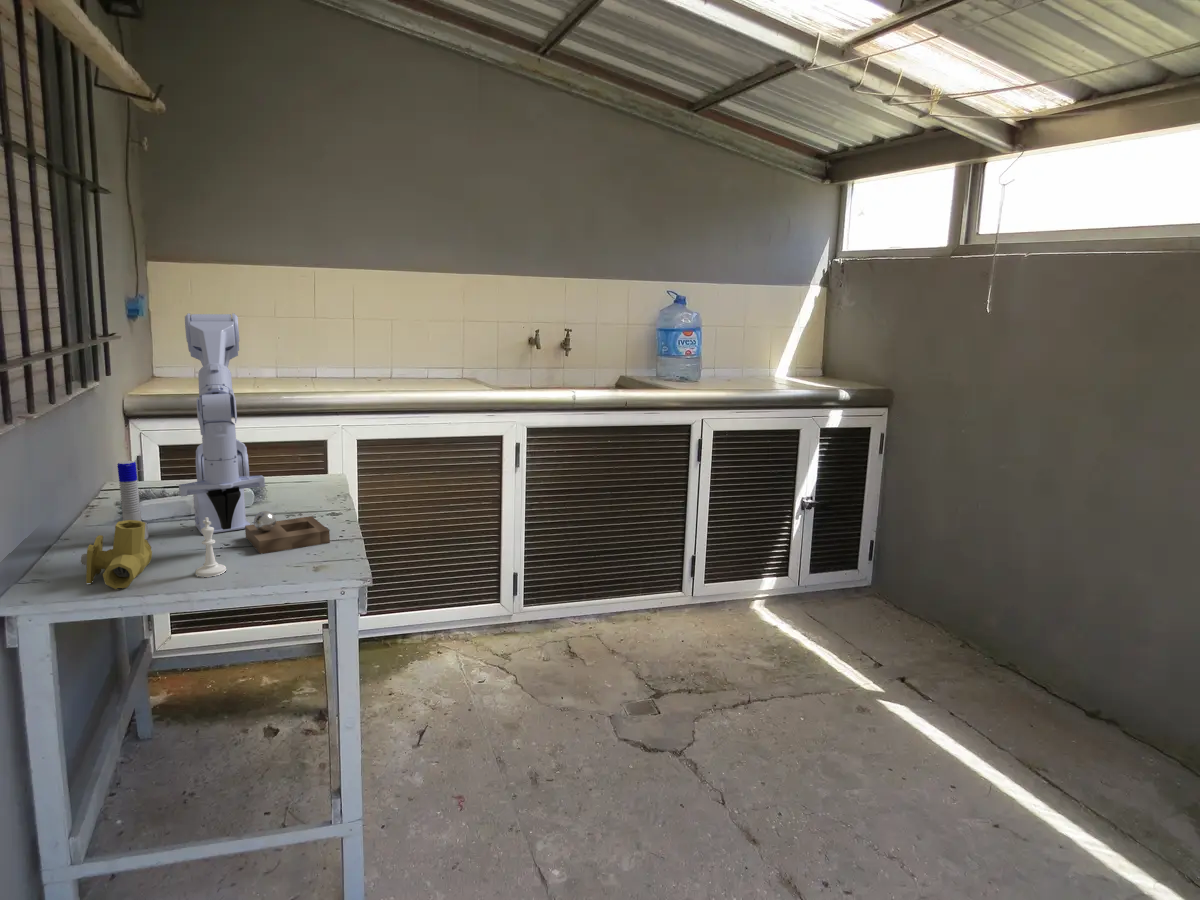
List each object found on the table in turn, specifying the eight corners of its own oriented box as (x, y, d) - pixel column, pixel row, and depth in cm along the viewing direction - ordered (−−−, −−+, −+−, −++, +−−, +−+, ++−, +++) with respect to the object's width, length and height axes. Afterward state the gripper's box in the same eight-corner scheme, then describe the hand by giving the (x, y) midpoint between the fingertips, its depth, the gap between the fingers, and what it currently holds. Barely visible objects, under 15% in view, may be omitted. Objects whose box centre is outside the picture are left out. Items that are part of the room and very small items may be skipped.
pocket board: (260, 554, 152) (259, 541, 152) (245, 537, 162) (245, 525, 161) (329, 542, 160) (329, 530, 159) (312, 527, 169) (311, 516, 169)
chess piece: (206, 579, 139) (201, 523, 137) (189, 574, 141) (184, 518, 139) (232, 571, 143) (228, 516, 141) (215, 566, 145) (211, 512, 143)
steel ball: (257, 535, 155) (255, 515, 155) (252, 530, 158) (250, 510, 158) (278, 532, 158) (277, 512, 157) (273, 527, 161) (272, 507, 160)
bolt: (142, 543, 157) (114, 544, 157) (153, 536, 162) (126, 536, 162) (134, 465, 154) (106, 465, 154) (145, 459, 159) (118, 459, 159)
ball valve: (154, 567, 147) (91, 565, 144) (157, 514, 144) (93, 510, 141) (137, 597, 135) (68, 595, 132) (140, 539, 133) (69, 535, 130)
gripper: (180, 465, 144) (187, 539, 146) (266, 457, 152) (271, 527, 155) (174, 458, 149) (181, 529, 152) (257, 451, 158) (262, 518, 160)
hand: (226, 528), depth 154 cm, fingers closed
